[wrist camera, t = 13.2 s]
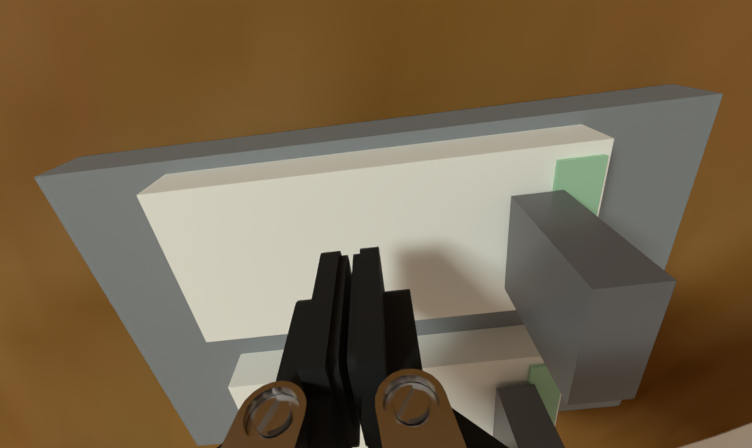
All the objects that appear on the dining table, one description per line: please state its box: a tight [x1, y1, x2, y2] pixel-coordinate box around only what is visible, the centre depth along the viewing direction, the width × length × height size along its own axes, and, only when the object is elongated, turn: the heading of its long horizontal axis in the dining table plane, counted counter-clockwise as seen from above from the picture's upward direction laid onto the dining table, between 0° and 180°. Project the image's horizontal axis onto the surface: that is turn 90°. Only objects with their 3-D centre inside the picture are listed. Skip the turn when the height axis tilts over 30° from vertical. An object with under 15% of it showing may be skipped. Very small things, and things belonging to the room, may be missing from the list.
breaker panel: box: [34, 84, 723, 448], centre depth 18 cm, size 18×26×5 cm
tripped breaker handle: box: [504, 190, 676, 405], centre depth 11 cm, size 4×2×5 cm, turn 7°
